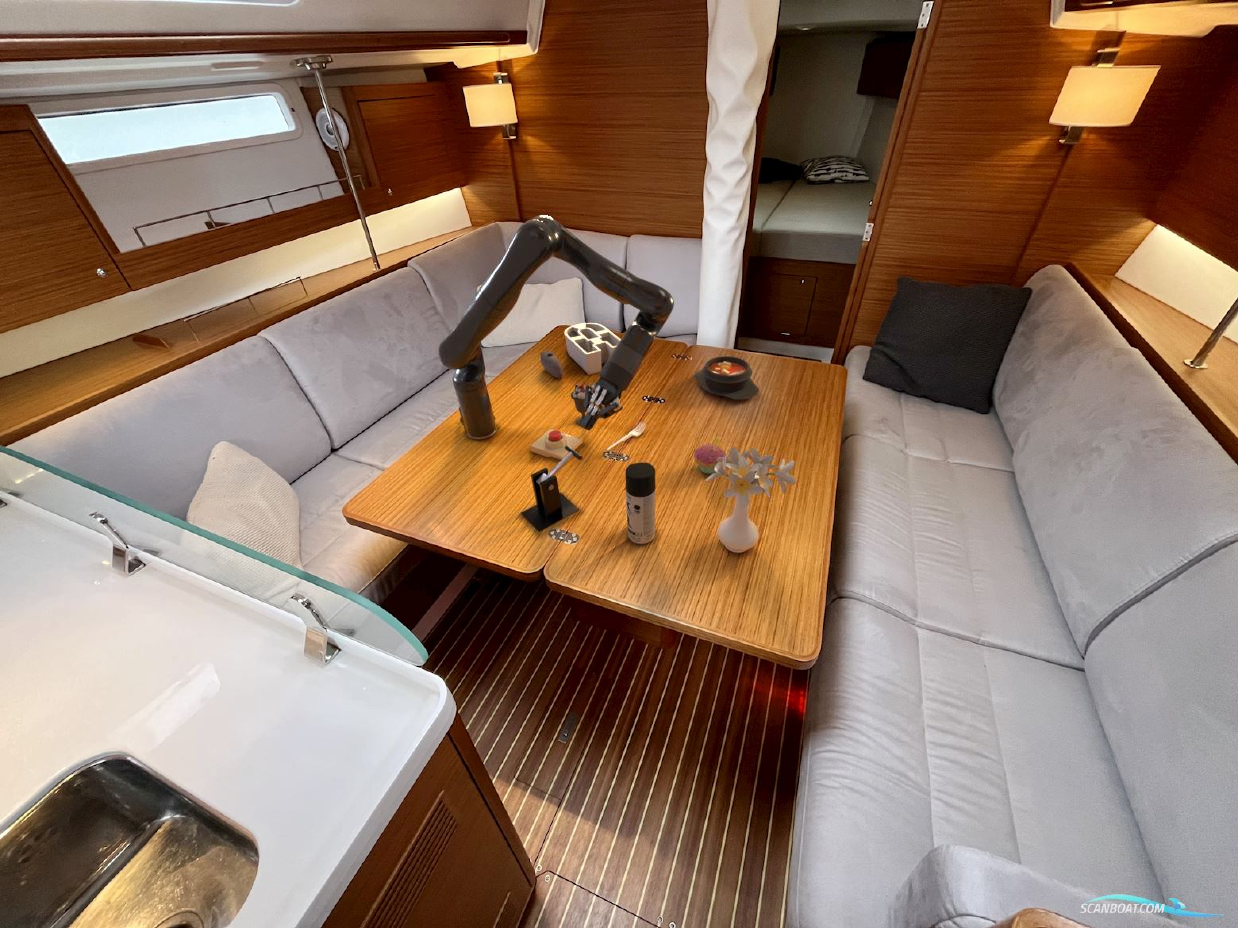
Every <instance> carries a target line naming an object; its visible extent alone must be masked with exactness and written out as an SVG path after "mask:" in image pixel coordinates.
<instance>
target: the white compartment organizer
mask: <svg viewBox="0 0 1238 928" xmlns="http://www.w3.org/2000/svg"><path fill="white" fill-rule="evenodd" d="M564 338H565V344H566V351H567V353H568V355H569V357H571V359H572V360H574V362H576V364H578V366H579V367H580V368H582V370H583V371H585V373H586V374H587V375H593V374H598V373H600V372H601V370H602V369H603V367H602V364H606V362H607V360H608V359H609V357H610V355H611V354H612V352H613V350H614V349H615V348H616V346H617V345H618V344H619V343H620V340H621V339H622V338H620V337H618V336H617V335H616V334H614V333H613V331H611V330H610V329H608V328H607V327H605V326H604V325H603V324H600V323H596V322H582V323H576V324H572V325H571V326H568V327H567V328H566V329H565V330H564Z"/></svg>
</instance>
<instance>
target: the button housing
mask: <svg viewBox="0 0 1238 928" xmlns="http://www.w3.org/2000/svg"><path fill="white" fill-rule="evenodd" d="M551 431H554V429H551V428H550V429H549V430H547V431H546V432H545V433H544V434H543V435H541V436H540V437H538V438H537V440H535V441H534V442H533V443H532V444H530V445H529V446H530V447H529V448H530V451H531V452H532V453H535V454H537V455H540V456H543V457H546V458H550V457H553V458H554V459H558V460H560V461H562V460H563V459H564V458H565V457H566V456H567V455H568V454H569V452H568V451H567V450H566V449H565V446H566V445H568V446H570V447H571V448H572V449H573V450H575V451H576V449H578V447H580V445H581V444H583V438H579V437H576V436H573V435H571V434H567V433H565V432H564V431H560V432H561V437H562V439H561V440H559V441H557V442H552V441H550V439H549V433H550V432H551Z"/></svg>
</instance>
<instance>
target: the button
mask: <svg viewBox="0 0 1238 928" xmlns="http://www.w3.org/2000/svg"><path fill="white" fill-rule="evenodd" d="M553 430H554V429H553ZM561 432H562V431H560V430H558V429H557V430H554V431H551V432H550V433H549V439H550V441H552V442H557V441H559V440H561V439H562V437H561Z"/></svg>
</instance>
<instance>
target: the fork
mask: <svg viewBox="0 0 1238 928" xmlns="http://www.w3.org/2000/svg"><path fill="white" fill-rule="evenodd" d="M647 426H648V424H647V423H645V422H642V421H640V422H639V423H638V424H637V425H636V426H635V427H634V428H633V429H632V430H631V431H629V432H628V433H627V434H626V435H625V436H623V437H621V438H620V439H619V440H617V441H616V442H614V443H613V444H611V445H610V446H609V447H608V448H606V450H607V451H608V450H610V449H612V448H614V447H615V446H617V445H618V444H620V443H621V442H626V441H627V440H628V439H629V438H630V437H636V438H637V437H639V436H641V435H642V433H643V432H644V431H645V429H646V427H647Z"/></svg>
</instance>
